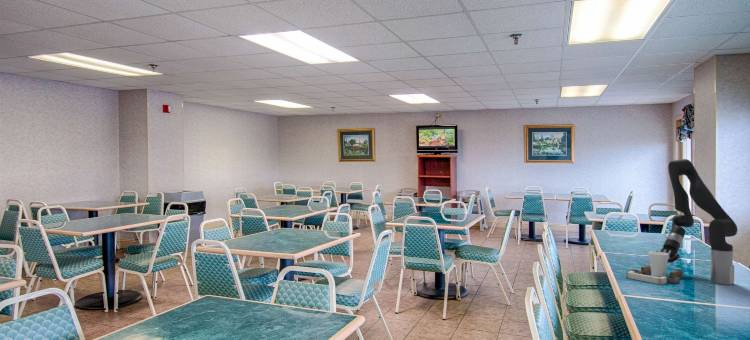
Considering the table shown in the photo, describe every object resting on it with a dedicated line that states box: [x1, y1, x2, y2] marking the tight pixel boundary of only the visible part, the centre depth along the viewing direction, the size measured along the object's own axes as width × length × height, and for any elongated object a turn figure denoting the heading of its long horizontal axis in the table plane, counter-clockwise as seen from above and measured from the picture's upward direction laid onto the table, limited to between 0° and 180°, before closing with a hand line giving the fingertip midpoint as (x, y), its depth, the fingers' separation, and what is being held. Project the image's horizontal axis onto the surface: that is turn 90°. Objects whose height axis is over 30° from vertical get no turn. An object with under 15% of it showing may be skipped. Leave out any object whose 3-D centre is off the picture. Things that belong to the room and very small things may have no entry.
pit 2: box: [665, 275, 681, 285], centre depth 248 cm, size 6×6×2 cm
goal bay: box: [625, 271, 668, 285], centre depth 252 cm, size 18×6×3 cm, turn 34°
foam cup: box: [648, 251, 669, 278], centre depth 259 cm, size 10×9×13 cm
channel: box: [640, 264, 683, 279], centre depth 261 cm, size 17×10×4 cm, turn 34°
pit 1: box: [627, 268, 643, 275], centre depth 263 cm, size 6×6×2 cm
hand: (662, 266), depth 262 cm, fingers closed
